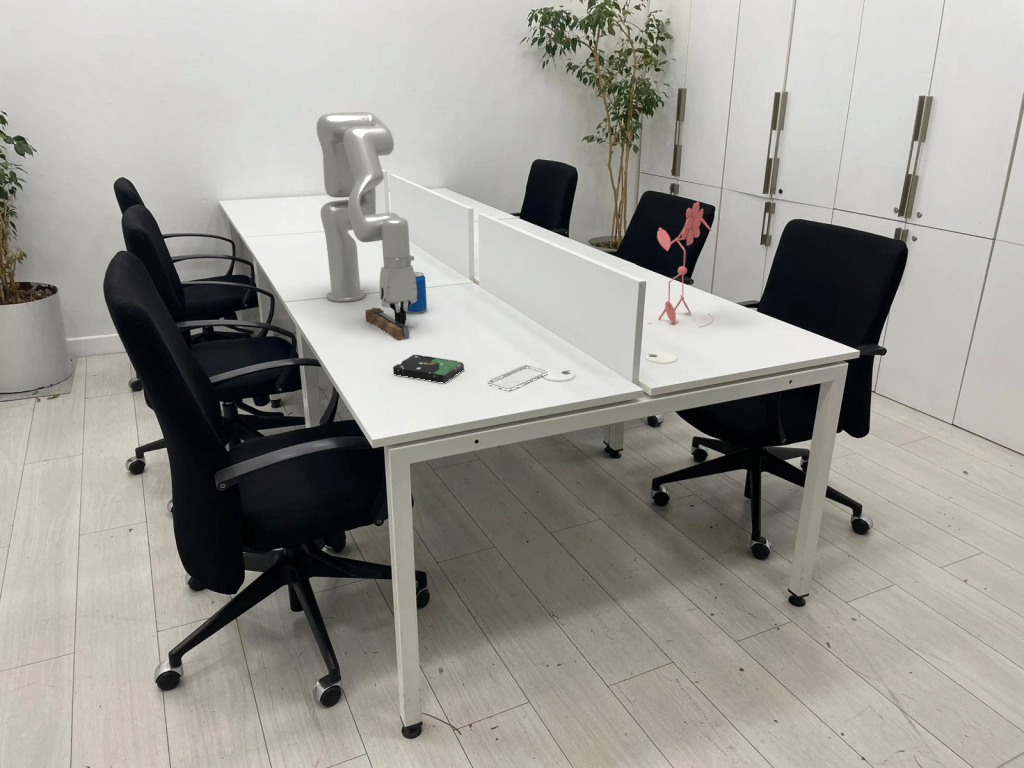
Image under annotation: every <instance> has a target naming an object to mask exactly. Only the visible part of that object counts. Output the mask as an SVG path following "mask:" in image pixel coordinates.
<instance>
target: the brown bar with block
mask: <svg viewBox="0 0 1024 768" xmlns="http://www.w3.org/2000/svg"><path fill="white" fill-rule="evenodd" d="M364 312H365V322H366V321H367V323H368V322H369V323H368V324H370V325H373V326H374V325H375V327H376V326H377V329H379V328H380V329H379V330H381V331H382V330H383V332H384V331H385V332H384V333H385V334H387V333H388V334H387V335H389V336H390V337H392V338H394V339H395V340H397V341H401V340H404V338H403V329H402V328H400V327H398V326H397V325H395V324H393V323H391V322H390V321H388V320H386V319H385V318H383V317H381V316H380V315H378V313H380V312H383V313H385V312H384V310H383V309H381V308H380V307H372V308H370V309H365V311H364Z"/></svg>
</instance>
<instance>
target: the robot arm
mask: <svg viewBox="0 0 1024 768" xmlns="http://www.w3.org/2000/svg"><path fill="white" fill-rule="evenodd" d="M316 122H317V123H316V134H317V138H318V139H317V140H318V142H319V144H320V147H321V151H322V161H323V162H322V163H323V166H322V167H323V168H322V169H323V182H324V190H325V192H326V194H327V195H328V196H329V197H331V198H348V199H340V200H333V201H329V202H326V203H325V204H324V205H323V206H321V208H320V219H321V223H322V227H323V231H324V236H325V242H326V250H327V258H328V259H327V261H328V270H329V281H330V289H331V290H330V292H327V293H326V294H327V295H326V298H327V299H328V300H329V301H332V302H338V303H339V302H340V303H341V302H343V303H345V302H354V301H359V300H362V299H364V298H366V292H365V291H364V290H362V289H361V282H360V269H359V257H358V256H359V255H358V247H357V245H358V244H357V242H356V240H355V239H354V237H352V235H351V234H350V233H349V231H353V234H354V236H355V238H356V239H357V240H358V241H359V242H361V243H372V242H381V244H382V258H383V259H382V260H383V266H382V267H381V268H380V273H379V299H380V300H381V306H382V307H383V308H389V309H391V310H392V311H394V312H393V313H394V319H395V320H397V321H399V322H401V323H402V324H404V325H406V323H407V322H406V321H407V312H408V311H407V310H408V307H409V306H410V304H412V303H414V302H416V301H417V298H416V297H417V285H416V279H415V274H414V272H415V270H414V267H413V265H412V261H413V262H414V260H415V256H414V255H411V253H410V252H411V251H410V233H409V232H410V231H409V230H410V229H409V222H408V220H407V219H406V218H405V217H401V216H400V215H398V214H397V213H395V212H383V213H377V212H376V211H377V210H376V209H377V208H376V207H377V205H376V203H377V202H376V198H377V197H376V194H377V193H376V192H377V191H376V188H377V187H378V186H379V185H381V183H382V182H383V181H384V179H385V175H384V171H383V168H382V165H381V163H380V162H381V161H380V158H379V157H380V156H389V155H391V153H392V152H393V151H394V148H395V146H394V145H395V143H394V137H393V134H392V132H391V130H390V128H389V127H388V126H387V125H386V124H385V123H384V122H383V121H382V120H381V119H380V118H379V117H378V116H377V115H375V114H374V113H372V112H367V111H361V112H359V111H357V112H355V111H354V112H333V113H332V112H330V113H326V114H325V113H324V114H322V115H321V116H319V118H318V119H317V121H316ZM406 326H407V325H406Z"/></svg>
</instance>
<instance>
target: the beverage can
mask: <svg viewBox="0 0 1024 768" xmlns="http://www.w3.org/2000/svg"><path fill="white" fill-rule="evenodd" d="M414 274H415V279H416V285H417V297H416V298H417V301H416V302H414V303H412V304H410V306H409V307H408V310H407V311H406V312H408V313H409V312H410V313H409V314H412V313H420V314H423V313H425V311H427V308H428V304H427V289H426V288H427V283H426V276H425V275H424V272H420V271H414ZM422 312H423V313H422Z"/></svg>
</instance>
